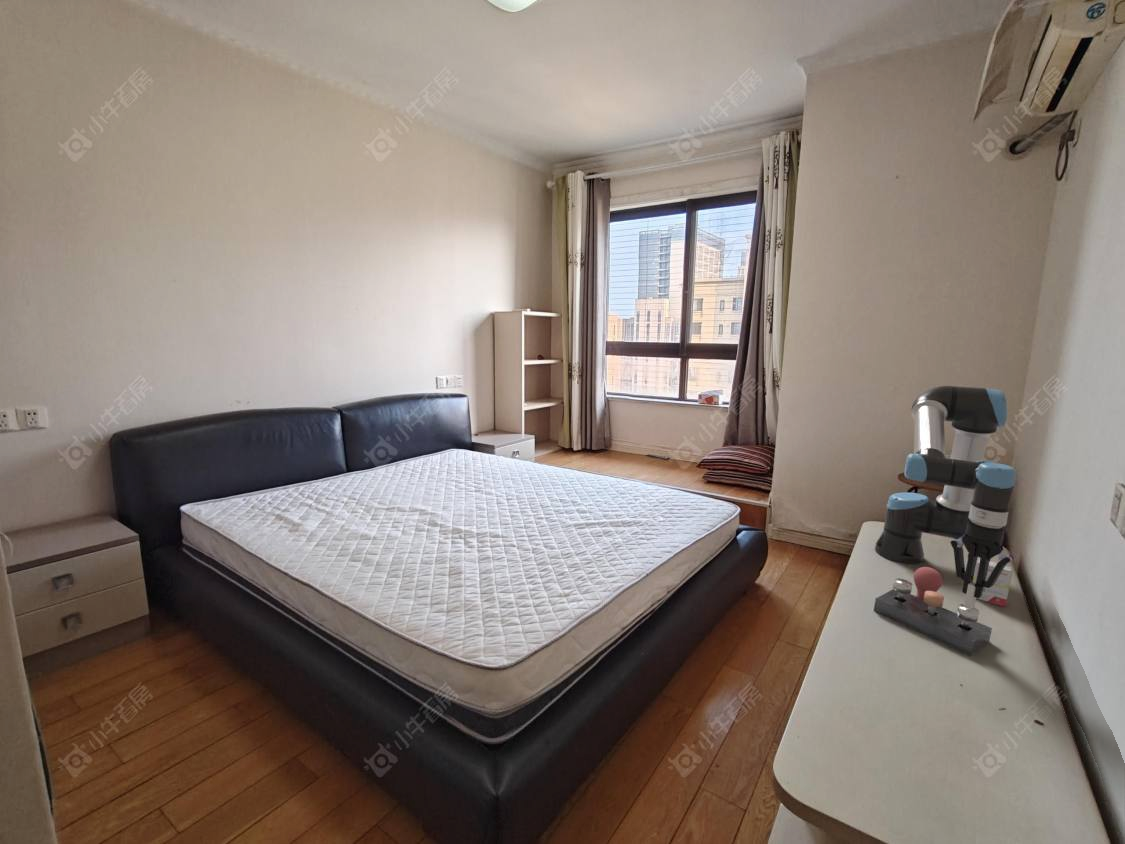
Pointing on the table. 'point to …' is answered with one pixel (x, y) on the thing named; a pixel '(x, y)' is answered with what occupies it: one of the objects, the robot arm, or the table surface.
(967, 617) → the knob
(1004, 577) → the ink box
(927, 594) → the knob
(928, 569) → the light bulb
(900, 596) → the knob
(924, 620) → the mount plate
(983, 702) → the table surface
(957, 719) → the table surface
